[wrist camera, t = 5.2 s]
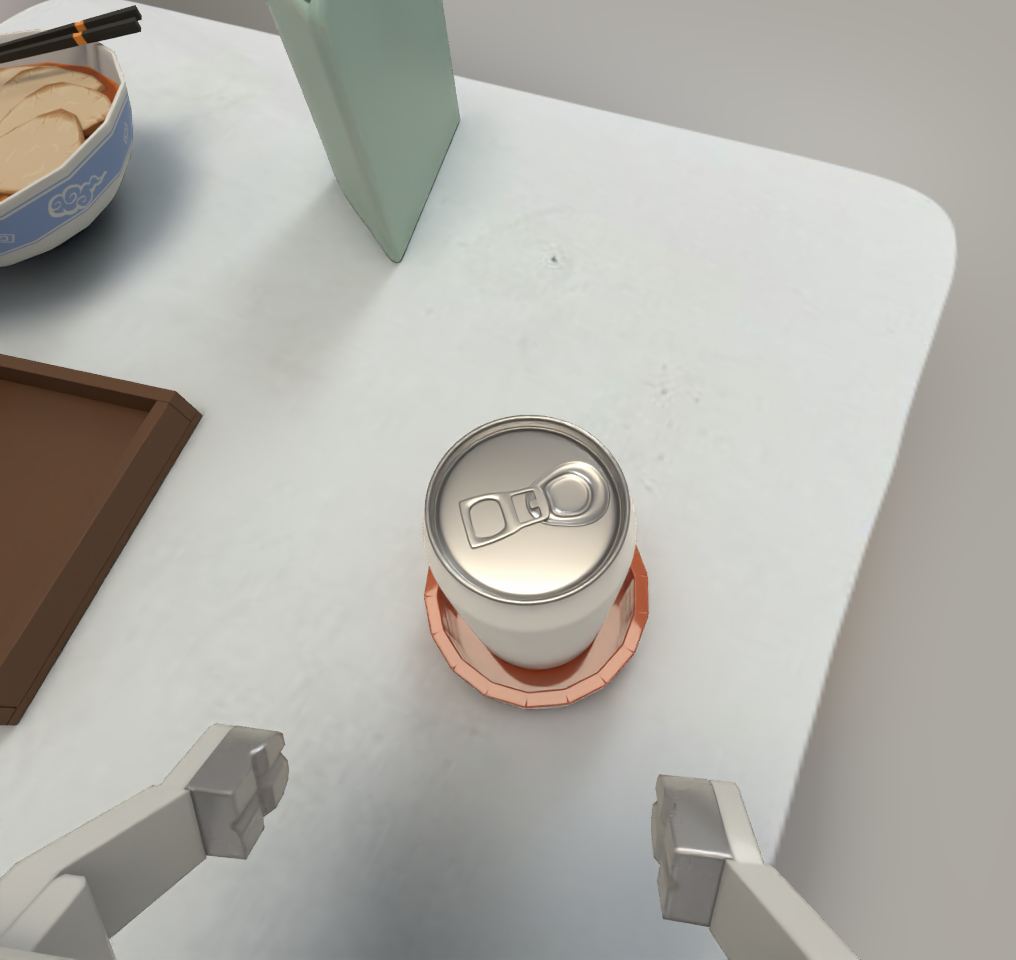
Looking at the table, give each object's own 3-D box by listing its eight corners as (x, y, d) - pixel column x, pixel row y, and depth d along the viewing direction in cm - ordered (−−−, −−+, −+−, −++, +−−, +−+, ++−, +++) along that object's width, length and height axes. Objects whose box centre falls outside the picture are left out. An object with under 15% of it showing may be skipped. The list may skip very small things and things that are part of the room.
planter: (370, 112, 44) (246, -309, 26) (461, 118, 42) (396, -322, 25) (295, 252, 37) (60, -186, 19) (400, 263, 36) (252, -195, 18)
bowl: (619, 737, 23) (628, 739, 20) (409, 675, 24) (392, 668, 22) (654, 533, 26) (665, 510, 24) (470, 491, 28) (462, 466, 25)
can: (626, 646, 24) (688, 578, 13) (489, 690, 23) (437, 656, 13) (578, 520, 27) (597, 377, 16) (455, 557, 26) (389, 436, 15)
